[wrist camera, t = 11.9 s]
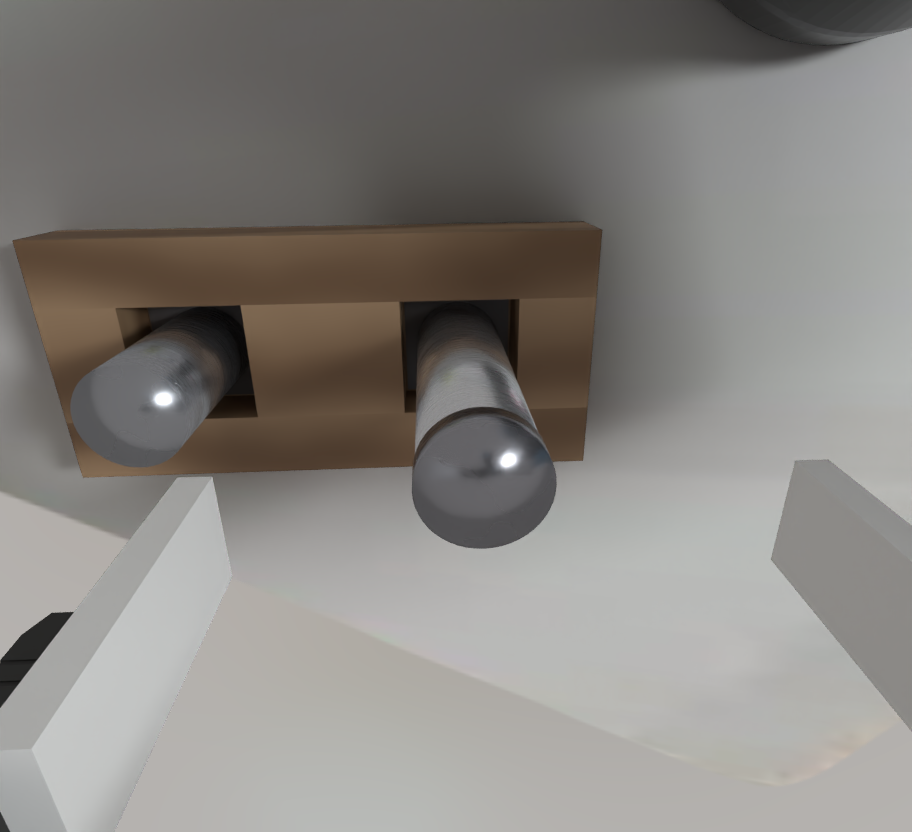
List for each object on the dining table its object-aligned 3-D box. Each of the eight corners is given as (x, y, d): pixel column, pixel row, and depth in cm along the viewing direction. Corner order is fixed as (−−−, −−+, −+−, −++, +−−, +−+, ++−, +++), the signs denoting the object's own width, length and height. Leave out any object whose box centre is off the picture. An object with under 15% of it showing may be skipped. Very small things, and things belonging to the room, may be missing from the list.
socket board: (57, 230, 25) (12, 240, 22) (583, 221, 26) (602, 230, 23) (114, 446, 29) (82, 477, 26) (568, 432, 30) (582, 460, 27)
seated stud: (159, 306, 26) (58, 365, 19) (245, 306, 26) (177, 363, 19) (174, 385, 27) (85, 468, 20) (255, 384, 28) (195, 466, 20)
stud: (414, 301, 27) (408, 425, 15) (499, 299, 27) (560, 420, 15) (417, 380, 28) (415, 551, 16) (497, 378, 28) (552, 545, 16)
